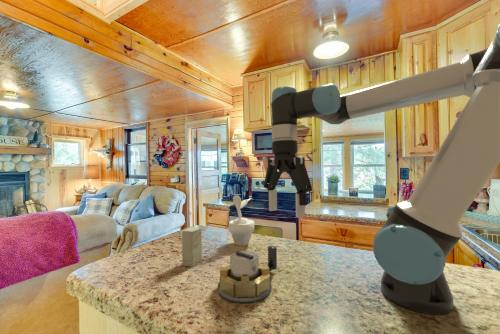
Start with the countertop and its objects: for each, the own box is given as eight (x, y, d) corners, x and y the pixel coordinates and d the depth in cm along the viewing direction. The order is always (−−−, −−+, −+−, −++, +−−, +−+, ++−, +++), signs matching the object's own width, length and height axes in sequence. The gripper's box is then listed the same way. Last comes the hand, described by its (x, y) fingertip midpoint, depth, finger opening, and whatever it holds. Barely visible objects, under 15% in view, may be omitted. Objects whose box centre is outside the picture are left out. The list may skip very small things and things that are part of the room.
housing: (282, 286, 65) (281, 252, 65) (245, 311, 53) (245, 270, 54) (244, 271, 75) (243, 241, 75) (206, 289, 64) (206, 255, 64)
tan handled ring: (245, 303, 54) (245, 275, 54) (210, 284, 64) (210, 260, 64) (292, 272, 70) (292, 251, 70) (259, 260, 79) (258, 241, 79)
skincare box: (192, 267, 78) (192, 231, 78) (181, 265, 79) (181, 230, 79) (202, 260, 84) (202, 227, 84) (191, 258, 85) (191, 226, 85)
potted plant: (240, 250, 94) (239, 189, 94) (223, 243, 102) (223, 187, 102) (261, 243, 102) (261, 187, 102) (244, 237, 111) (244, 186, 111)
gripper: (325, 136, 60) (326, 218, 60) (270, 145, 80) (271, 206, 80) (305, 134, 56) (306, 222, 56) (252, 144, 76) (253, 209, 76)
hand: (285, 213), depth 68 cm, fingers open, 11 cm apart
